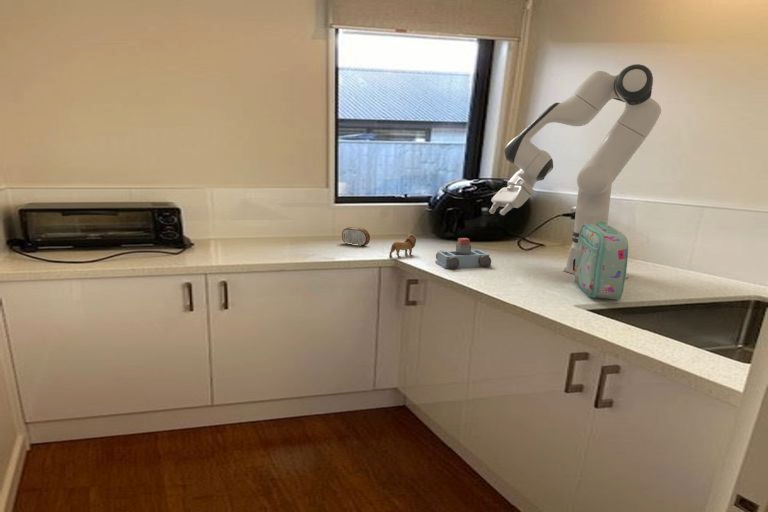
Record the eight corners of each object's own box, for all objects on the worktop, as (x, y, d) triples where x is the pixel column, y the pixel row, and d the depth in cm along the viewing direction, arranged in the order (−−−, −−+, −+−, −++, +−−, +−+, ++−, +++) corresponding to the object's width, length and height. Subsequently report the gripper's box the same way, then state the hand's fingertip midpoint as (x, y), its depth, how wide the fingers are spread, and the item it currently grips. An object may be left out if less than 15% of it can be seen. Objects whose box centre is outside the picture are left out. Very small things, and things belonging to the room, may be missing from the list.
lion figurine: (410, 253, 208) (410, 232, 206) (419, 255, 204) (419, 234, 202) (385, 257, 198) (385, 236, 197) (394, 260, 195) (394, 238, 193)
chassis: (492, 266, 182) (493, 255, 181) (446, 269, 178) (446, 257, 177) (477, 259, 195) (478, 248, 194) (433, 261, 191) (434, 250, 190)
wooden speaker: (370, 246, 224) (370, 228, 222) (366, 247, 221) (366, 229, 220) (344, 243, 232) (344, 226, 230) (340, 244, 229) (340, 227, 227)
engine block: (470, 262, 185) (471, 239, 183) (459, 262, 184) (460, 239, 182) (466, 259, 189) (466, 237, 187) (455, 260, 188) (456, 238, 186)
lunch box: (569, 279, 163) (574, 217, 159) (600, 281, 162) (606, 218, 157) (588, 303, 137) (595, 230, 133) (626, 305, 136) (635, 231, 131)
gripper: (501, 181, 194) (479, 206, 194) (526, 180, 175) (502, 209, 174) (511, 191, 196) (490, 217, 196) (537, 192, 176) (513, 220, 176)
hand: (495, 213), depth 185 cm, fingers open, 8 cm apart
